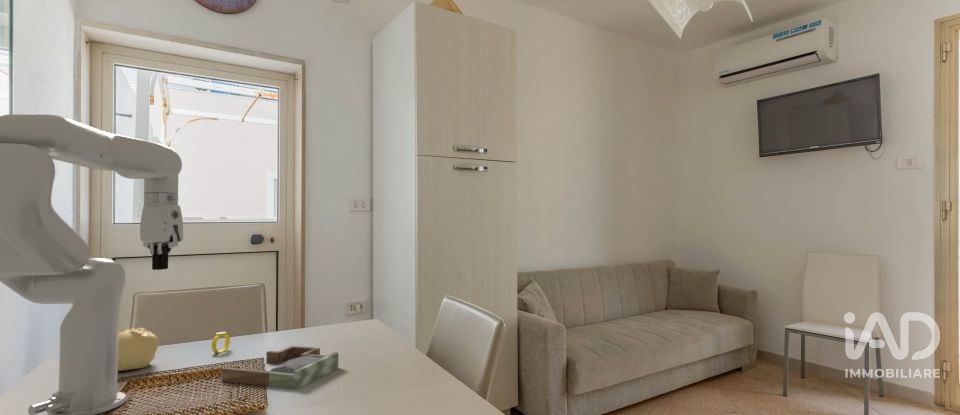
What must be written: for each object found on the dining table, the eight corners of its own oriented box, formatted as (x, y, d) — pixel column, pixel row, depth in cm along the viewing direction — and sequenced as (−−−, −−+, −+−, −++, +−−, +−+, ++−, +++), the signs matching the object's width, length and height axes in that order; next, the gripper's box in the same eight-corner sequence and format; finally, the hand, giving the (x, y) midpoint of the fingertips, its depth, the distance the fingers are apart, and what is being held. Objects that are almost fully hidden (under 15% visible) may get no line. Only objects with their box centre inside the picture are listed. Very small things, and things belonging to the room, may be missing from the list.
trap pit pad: (302, 364, 126) (302, 363, 126) (282, 362, 127) (282, 361, 127) (312, 359, 130) (312, 358, 130) (293, 357, 132) (293, 356, 132)
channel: (298, 388, 107) (298, 371, 107) (221, 380, 113) (222, 364, 113) (350, 361, 128) (350, 346, 128) (284, 355, 134) (284, 342, 134)
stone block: (266, 389, 112) (303, 383, 110) (263, 370, 112) (300, 363, 111) (293, 375, 124) (327, 369, 122) (290, 357, 124) (324, 351, 123)
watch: (223, 350, 142) (224, 330, 143) (231, 350, 142) (232, 331, 142) (208, 354, 136) (210, 334, 137) (217, 354, 136) (218, 334, 136)
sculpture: (165, 366, 126) (165, 326, 126) (111, 378, 116) (112, 335, 116) (147, 359, 132) (148, 322, 133) (95, 370, 122) (96, 330, 123)
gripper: (195, 200, 123) (194, 268, 123) (153, 201, 127) (152, 267, 127) (169, 199, 116) (168, 271, 115) (126, 200, 120) (124, 270, 119)
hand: (160, 269), depth 121 cm, fingers closed
